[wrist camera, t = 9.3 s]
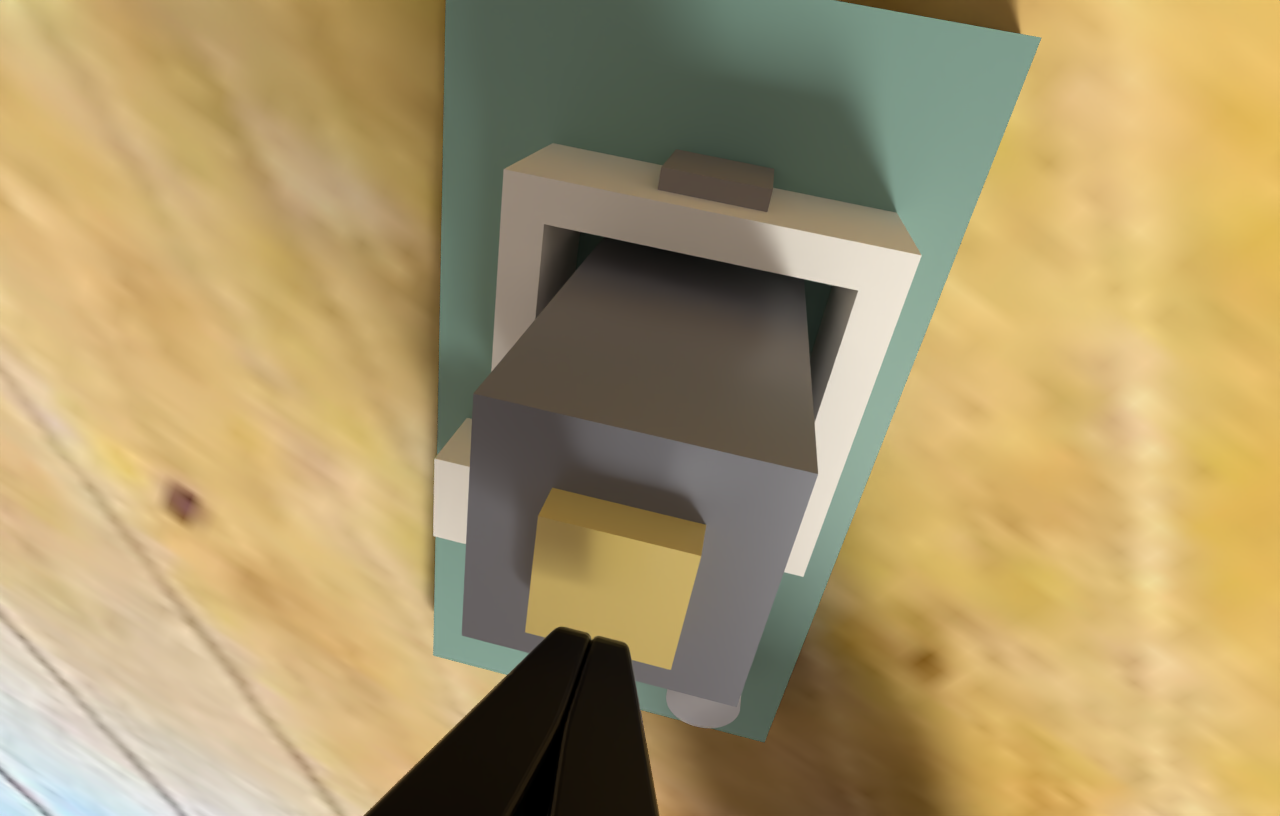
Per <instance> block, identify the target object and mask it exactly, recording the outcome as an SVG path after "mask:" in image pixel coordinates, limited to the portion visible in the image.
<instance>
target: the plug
mask: <svg viewBox="0 0 1280 816" xmlns="http://www.w3.org/2000/svg"><path fill="white" fill-rule="evenodd" d="M817 476H818V464H817V450H816V436H815V423H814V409H813V395H812V381H811V368H810V354H809V340H808V326H807V312H806V299H805V285H804V279H801V278H796V277H792V276H787V275H782V274H777V273H773V272H768V271H763V270H759V269H754V268H749V267H744V266H740V265H735V264H730V263H726V262H721V261H716V260H711V259H707V258H702V257H697V256H692V255H688V254H683V253H678V252H674V251H669V250H664V249H659V248H655V247H650V246H645V245H640V244H636V243H631V242H626V241H622V240H617V239H612V238H607V237H604V238H603V239H602V240H601V241H600V242H599V244H598V245H597V246H596V247H595V248H594V250H593V251H592V252H591V253H590V254H589V255H588V257H587V258H586V259H585V260H584V261H583V263H582V264H581V265H580V266H579V267H578V269H577V270H576V271H575V272H574V273H573V275H572V276H571V277H570V278H569V279H568V281H567V282H566V283H565V284H564V285H563V287H562V288H561V289H560V290H559V291H558V293H557V294H556V295H555V296H554V297H553V299H552V300H551V301H550V302H549V303H548V305H547V306H546V307H545V308H544V309H543V311H542V312H541V313H540V314H539V315H538V317H537V318H536V319H535V320H534V321H533V323H532V324H531V325H530V326H529V327H528V329H527V330H526V331H525V332H524V333H523V335H522V336H521V337H520V338H519V339H518V341H517V342H516V343H515V344H514V345H513V347H512V348H511V349H510V350H509V351H508V353H507V354H506V355H505V356H504V357H503V359H502V360H501V361H500V362H499V363H498V365H497V366H496V367H495V368H494V369H493V371H492V372H491V373H490V374H489V375H488V377H487V378H486V379H485V380H484V381H483V383H482V384H481V385H480V386H479V387H478V389H477V390H476V391H475V392H474V393H473V409H472V429H471V450H470V471H469V492H468V512H467V533H466V554H465V574H464V595H463V616H462V636H465V637H469V638H473V639H477V640H481V641H484V642H488V643H492V644H496V645H500V646H504V647H507V648H511V649H515V650H519V651H523V652H527V653H530V652H531V651H532V650H533V649H534V648H535V647H536V646H537V645H538V644H539V643H540V642H541V641H542V640H543V639H544V638H545V637H546V636H547V635H548V634H550V633H551V632H552V631H553V630H554V629H555V628H557V627H560V626H562V627H567V628H571V629H575V630H579V631H583V632H587V633H588V634H589V635H590V636H591V638H592V639H593V638H594V637H596V636H602V637H606V638H610V639H614V640H618V641H622V642H625V643H626V644H627V645H628V647H629V649H630V653H631V659H632V665H633V670H634V676H635V681H638V682H642V683H646V684H649V685H653V686H657V687H661V688H665V689H669V690H672V691H676V692H680V693H684V694H688V695H692V696H695V697H699V698H703V699H707V700H711V701H715V702H718V703H722V704H726V705H730V706H734V707H737V705H738V702H739V699H740V696H741V694H742V691H743V688H744V685H745V682H746V679H747V676H748V674H749V671H750V668H751V665H752V662H753V659H754V656H755V654H756V651H757V648H758V645H759V642H760V639H761V636H762V634H763V631H764V628H765V625H766V622H767V619H768V616H769V614H770V611H771V608H772V605H773V602H774V599H775V596H776V593H777V591H778V588H779V585H780V582H781V579H782V576H783V573H784V571H785V568H786V565H787V562H788V559H789V556H790V553H791V551H792V548H793V545H794V542H795V539H796V536H797V533H798V531H799V528H800V525H801V522H802V519H803V516H804V513H805V511H806V508H807V505H808V502H809V499H810V496H811V493H812V491H813V488H814V485H815V482H816V479H817Z"/></svg>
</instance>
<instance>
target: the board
mask: <svg viewBox="0 0 1280 816" xmlns="http://www.w3.org/2000/svg"><path fill="white" fill-rule="evenodd" d="M1040 40H1041V38H1040V37H1034V36H1029V35H1023V34H1018V33H1012V32H1007V31H1001V30H996V29H990V28H985V27H979V26H974V25H968V24H963V23H957V22H952V21H946V20H940V19H935V18H929V17H924V16H918V15H913V14H907V13H902V12H896V11H891V10H885V9H880V8H874V7H869V6H863V5H858V4H852V3H847V2H841V1H835V0H446V12H445V65H444V118H443V171H442V223H441V276H440V329H439V382H438V435H437V456H436V457H435V458H434V517H433V536H435V537H436V541H435V593H434V646H433V655H434V656H437V657H441V658H445V659H449V660H453V661H456V662H460V663H464V664H468V665H472V666H475V667H479V668H483V669H487V670H491V671H494V672H498V673H502V674H506V675H508V674H509V673H510V672H511V671H512V670H513V669H514V668H515V667H516V666H517V665H518V664H519V663H520V662H521V661H522V660H523V659H524V658H525V657H526V656H527V655H528V654H529V653H527V652H523V651H519V650H515V649H511V648H507V647H504V646H500V645H496V644H492V643H488V642H484V641H481V640H477V639H473V638H469V637H465V636H462V616H463V595H464V574H465V554H466V533H467V512H468V492H469V471H470V450H471V429H472V409H473V393H474V392H475V391H476V390H477V389H478V387H479V386H480V385H481V384H482V383H483V381H484V380H485V379H486V378H487V377H488V375H489V374H490V373H491V372H492V371H493V369H494V368H495V367H496V366H497V365H498V363H499V362H500V361H501V360H502V359H503V357H504V356H505V355H506V354H507V353H508V351H509V350H510V349H511V348H512V347H513V345H514V344H515V343H516V342H517V341H518V339H519V338H520V337H521V336H522V335H523V333H524V332H525V331H526V330H527V329H528V327H529V326H530V325H531V324H532V323H533V321H534V320H535V319H536V318H537V317H538V315H539V314H540V313H541V312H542V311H543V309H544V308H545V307H546V306H547V305H548V303H549V302H550V301H551V300H552V299H553V297H554V296H555V295H556V294H557V293H558V291H559V290H560V289H561V288H562V287H563V285H564V284H565V283H566V282H567V281H568V279H569V278H570V277H571V276H572V275H573V273H574V272H575V271H576V270H577V269H578V267H579V266H580V265H581V264H582V263H583V261H584V260H585V259H586V258H587V257H588V255H589V254H590V253H591V252H592V251H593V250H594V248H595V247H596V246H597V245H598V244H599V242H600V241H601V240H602V239H603V238H604V237H607V238H612V239H617V240H622V241H626V242H631V243H636V244H640V245H645V246H650V247H655V248H659V249H664V250H669V251H674V252H678V253H683V254H688V255H692V256H697V257H702V258H707V259H711V260H716V261H721V262H726V263H730V264H735V265H740V266H744V267H749V268H754V269H759V270H763V271H768V272H773V273H777V274H782V275H787V276H792V277H796V278H801V279H804V285H805V299H806V312H807V326H808V340H809V354H810V368H811V381H812V395H813V409H814V423H815V436H816V450H817V464H818V476H817V479H816V482H815V485H814V488H813V491H812V493H811V496H810V499H809V502H808V505H807V508H806V511H805V513H804V516H803V519H802V522H801V525H800V528H799V531H798V533H797V536H796V539H795V542H794V545H793V548H792V551H791V553H790V556H789V559H788V562H787V565H786V568H785V571H784V573H783V576H782V579H781V582H780V585H779V588H778V591H777V593H776V596H775V599H774V602H773V605H772V608H771V611H770V614H769V616H768V619H767V622H766V625H765V628H764V631H763V634H762V636H761V639H760V642H759V645H758V648H757V651H756V654H755V656H754V659H753V662H752V665H751V668H750V671H749V674H748V676H747V679H746V682H745V685H744V688H743V691H742V694H741V696H740V699H739V702H738V705H737V707H734V706H730V705H726V704H722V703H718V702H715V701H711V700H707V699H703V698H699V697H695V696H692V695H688V694H684V693H680V692H676V691H672V690H669V689H665V688H661V687H657V686H653V685H649V684H646V683H642V682H638V681H636V687H637V693H638V698H639V704H640V709H641V710H643V711H647V712H650V713H654V714H658V715H662V716H666V717H669V718H673V719H677V720H681V721H683V722H685V723H687V724H690V725H693V726H696V727H701V728H711V729H715V730H719V731H723V732H726V733H730V734H734V735H738V736H742V737H745V738H749V739H753V740H757V741H761V742H765V740H766V737H767V735H768V732H769V730H770V727H771V725H772V722H773V719H774V717H775V714H776V712H777V709H778V707H779V704H780V702H781V699H782V697H783V694H784V692H785V689H786V686H787V684H788V681H789V679H790V676H791V674H792V671H793V669H794V666H795V664H796V661H797V658H798V656H799V653H800V651H801V648H802V646H803V643H804V641H805V638H806V636H807V633H808V630H809V628H810V625H811V623H812V620H813V618H814V615H815V613H816V610H817V608H818V605H819V602H820V600H821V597H822V595H823V592H824V590H825V587H826V585H827V582H828V580H829V577H830V574H831V572H832V569H833V567H834V564H835V562H836V559H837V557H838V554H839V552H840V549H841V546H842V544H843V541H844V539H845V536H846V534H847V531H848V529H849V526H850V524H851V521H852V519H853V516H854V513H855V511H856V508H857V506H858V503H859V501H860V498H861V496H862V493H863V491H864V488H865V485H866V483H867V480H868V478H869V475H870V473H871V470H872V468H873V465H874V463H875V460H876V457H877V455H878V452H879V450H880V447H881V445H882V442H883V440H884V437H885V435H886V432H887V429H888V427H889V424H890V422H891V419H892V417H893V414H894V412H895V409H896V407H897V404H898V401H899V399H900V396H901V394H902V391H903V389H904V386H905V384H906V381H907V379H908V376H909V373H910V371H911V368H912V366H913V363H914V361H915V358H916V356H917V353H918V351H919V348H920V346H921V343H922V340H923V338H924V335H925V333H926V330H927V328H928V325H929V323H930V320H931V318H932V315H933V312H934V310H935V307H936V305H937V302H938V300H939V297H940V295H941V292H942V290H943V287H944V284H945V282H946V279H947V277H948V274H949V272H950V269H951V267H952V264H953V262H954V259H955V256H956V254H957V251H958V249H959V246H960V244H961V241H962V239H963V236H964V234H965V231H966V228H967V226H968V223H969V221H970V218H971V216H972V213H973V211H974V208H975V206H976V203H977V200H978V198H979V195H980V193H981V190H982V188H983V185H984V183H985V180H986V178H987V175H988V172H989V170H990V167H991V165H992V162H993V160H994V157H995V155H996V152H997V150H998V147H999V145H1000V142H1001V139H1002V137H1003V134H1004V132H1005V129H1006V127H1007V124H1008V122H1009V119H1010V117H1011V114H1012V111H1013V109H1014V106H1015V104H1016V101H1017V99H1018V96H1019V94H1020V91H1021V89H1022V86H1023V83H1024V81H1025V78H1026V76H1027V73H1028V71H1029V68H1030V66H1031V63H1032V61H1033V58H1034V55H1035V53H1036V50H1037V48H1038V45H1039V43H1040Z"/></svg>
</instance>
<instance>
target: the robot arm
mask: <svg viewBox="0 0 1280 816" xmlns="http://www.w3.org/2000/svg"><path fill="white" fill-rule="evenodd" d="M364 816H659V811H658V805H657V799H656V794H655V788H654V782H653V777H652V771H651V766H650V760H649V754H648V749H647V743H646V738H645V732H644V726H643V721H642V715H641V709H640V704H639V698H638V693H637V687H636V681H635V676H634V670H633V665H632V659H631V653H630V649H629V647H628V645H627V644H626V643H625V642H622V641H618V640H614V639H610V638H606V637H602V636H596V637H594V638H593V639H592V638H591V636H590V635H589V634H588V633H587V632H583V631H579V630H575V629H571V628H567V627H562V626H560V627H557V628H555V629H554V630H553V631H552V632H551V633H550V634H548V635H547V636H546V637H545V638H544V639H543V640H542V641H541V642H540V643H539V644H538V645H537V646H536V647H535V648H534V649H533V650H532V651H531V652H530V653H529V654H528V655H527V656H526V657H525V658H524V659H523V660H522V661H521V662H520V663H519V664H518V665H517V666H516V667H515V668H514V669H513V670H512V671H511V672H510V673H509V674H508V675H507V676H506V677H505V678H504V679H503V680H502V681H501V682H499V683H498V684H497V685H496V686H495V687H494V688H493V689H492V690H491V691H490V692H489V693H488V694H487V695H486V696H485V697H484V698H483V699H482V700H481V701H480V702H479V703H478V704H477V705H476V706H475V707H474V708H473V709H472V710H471V711H470V712H469V713H468V714H467V715H466V716H465V717H464V718H463V719H462V720H461V721H460V722H459V723H458V724H457V725H456V726H455V727H454V728H453V729H452V730H450V731H449V732H448V733H447V734H446V735H445V736H444V737H443V738H442V739H441V740H440V741H439V742H438V743H437V744H436V745H435V746H434V747H433V748H432V749H431V750H430V751H429V752H428V753H427V754H426V755H425V756H424V757H423V758H422V759H421V760H420V761H419V762H418V763H417V764H416V765H415V766H414V767H413V768H412V769H411V770H410V771H409V772H408V773H407V774H406V775H405V776H404V777H403V778H402V779H400V780H399V781H398V782H397V783H396V784H395V785H394V786H393V787H392V788H391V789H390V790H389V791H388V792H387V793H386V794H385V795H384V796H383V797H382V798H381V799H380V800H379V801H378V802H377V803H376V804H375V805H374V806H373V807H372V808H371V809H370V810H369V811H368V812H367V813H366V814H365V815H364Z"/></svg>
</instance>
